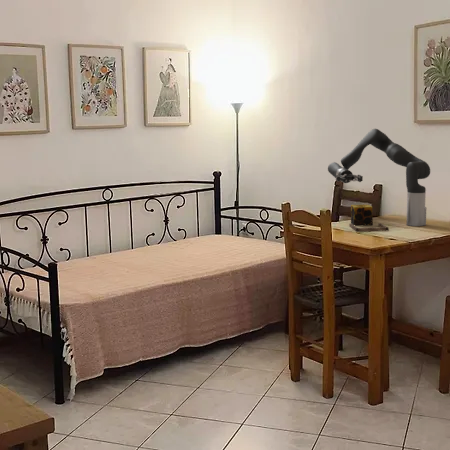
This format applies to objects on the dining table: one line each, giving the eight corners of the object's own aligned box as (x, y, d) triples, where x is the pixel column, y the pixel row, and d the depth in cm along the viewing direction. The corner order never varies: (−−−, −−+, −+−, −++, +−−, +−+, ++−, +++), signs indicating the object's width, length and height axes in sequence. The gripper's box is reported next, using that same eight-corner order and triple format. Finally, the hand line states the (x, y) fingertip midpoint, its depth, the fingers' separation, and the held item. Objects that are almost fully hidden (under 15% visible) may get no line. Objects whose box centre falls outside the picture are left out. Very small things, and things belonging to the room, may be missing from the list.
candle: (372, 225, 368) (373, 206, 366) (353, 225, 368) (353, 207, 366) (369, 222, 378) (369, 204, 376) (350, 222, 378) (350, 204, 376)
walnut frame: (380, 225, 366) (380, 222, 366) (388, 230, 351) (388, 227, 351) (349, 226, 365) (349, 223, 365) (356, 231, 350) (356, 228, 350)
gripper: (332, 169, 396) (340, 173, 380) (356, 168, 398) (365, 173, 382) (331, 182, 398) (340, 187, 382) (356, 181, 399) (365, 186, 384)
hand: (352, 180), depth 382 cm, fingers open, 8 cm apart
